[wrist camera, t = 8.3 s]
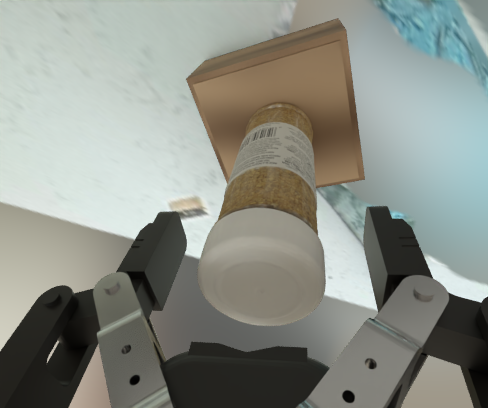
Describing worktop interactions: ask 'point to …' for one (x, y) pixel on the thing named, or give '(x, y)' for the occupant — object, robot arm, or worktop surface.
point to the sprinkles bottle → (267, 226)
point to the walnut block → (285, 97)
